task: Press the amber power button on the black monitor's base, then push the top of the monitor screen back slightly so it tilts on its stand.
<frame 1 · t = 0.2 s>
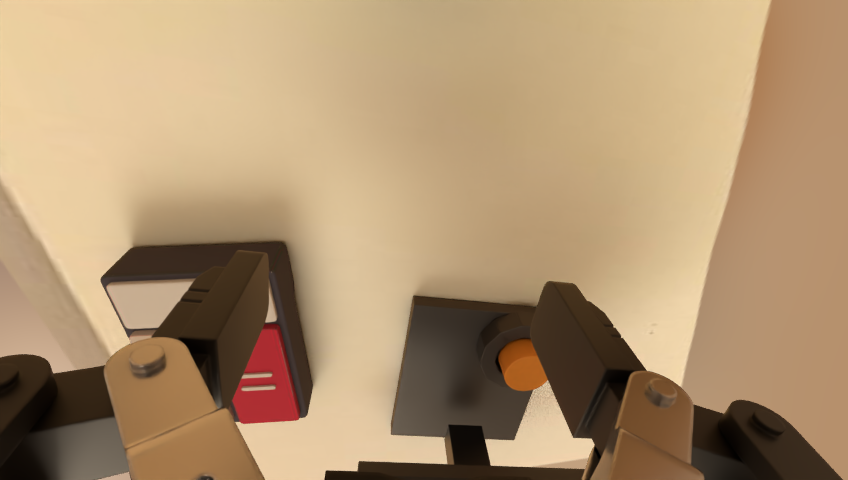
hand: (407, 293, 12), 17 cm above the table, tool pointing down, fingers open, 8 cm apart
calculator: (232, 325, 33), on the table
monitor base: (467, 370, 37), on the table
monitor stand: (461, 394, 39), resting on monitor base
power button: (524, 364, 32), point 4 cm above the table, slide at 0.1 cm
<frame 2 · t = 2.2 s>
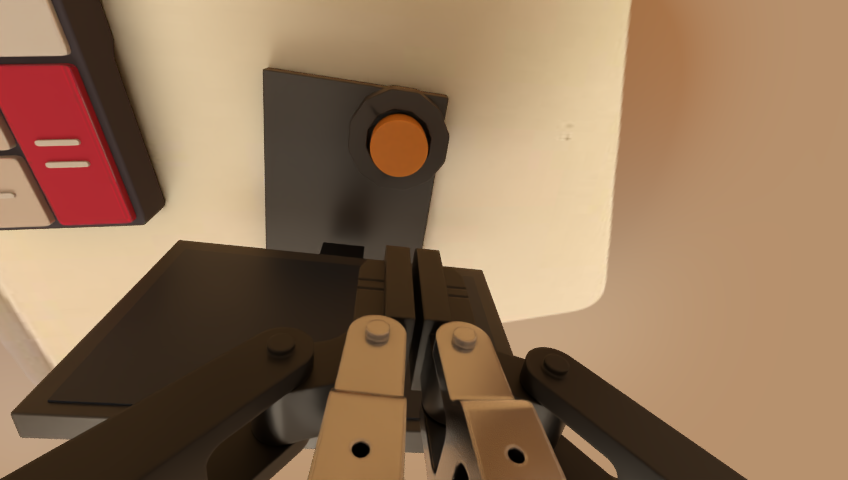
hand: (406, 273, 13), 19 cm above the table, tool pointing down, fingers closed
calculator: (50, 105, 28), on the table
monitor base: (351, 185, 31), on the table
monitor stand: (348, 221, 33), resting on monitor base
monitor screen: (322, 332, 20), point 14 cm above the table, hinge at 0.0°
power button: (398, 145, 27), point 4 cm above the table, slide at 0.1 cm
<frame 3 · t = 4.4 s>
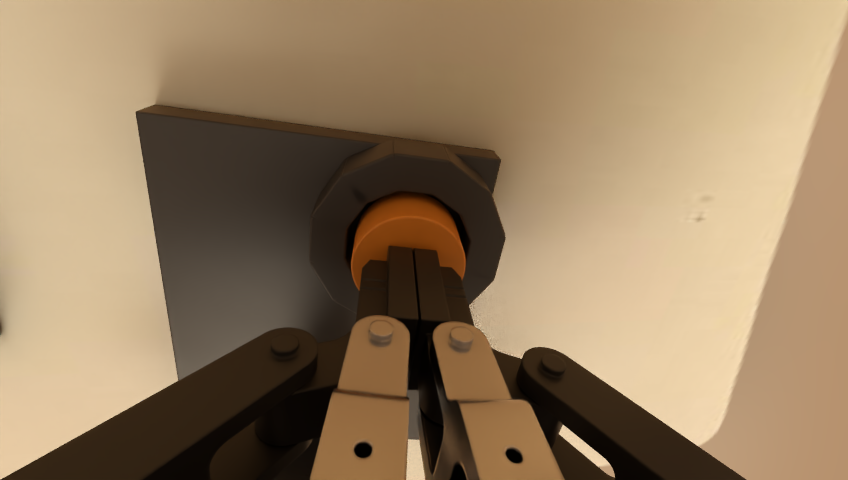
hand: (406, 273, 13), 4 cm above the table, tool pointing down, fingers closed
monitor base: (324, 298, 18), on the table
monitor stand: (321, 350, 20), resting on monitor base
power button: (407, 252, 14), point 3 cm above the table, slide at -0.4 cm, touching gripper
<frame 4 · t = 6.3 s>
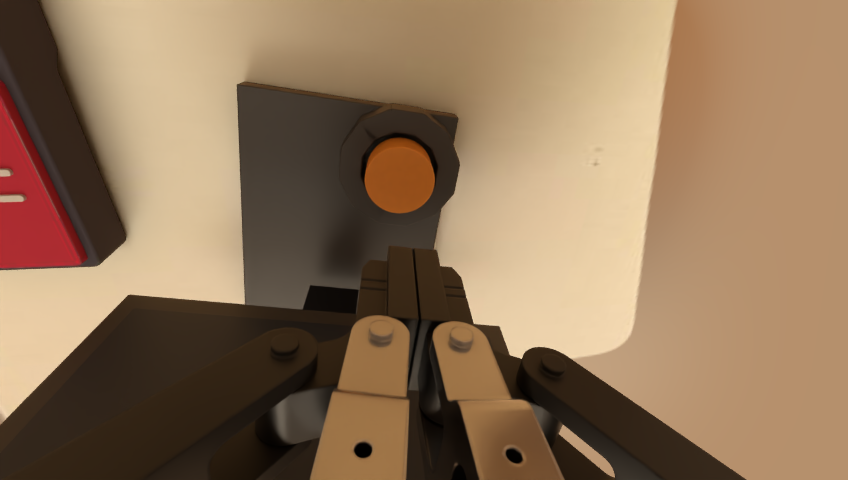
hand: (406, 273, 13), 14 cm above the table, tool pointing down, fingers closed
monitor base: (343, 217, 27), on the table
monitor stand: (340, 257, 28), resting on monitor base
monitor screen: (300, 426, 16), point 14 cm above the table, hinge at 0.0°
power button: (399, 175, 22), point 4 cm above the table, slide at 0.1 cm
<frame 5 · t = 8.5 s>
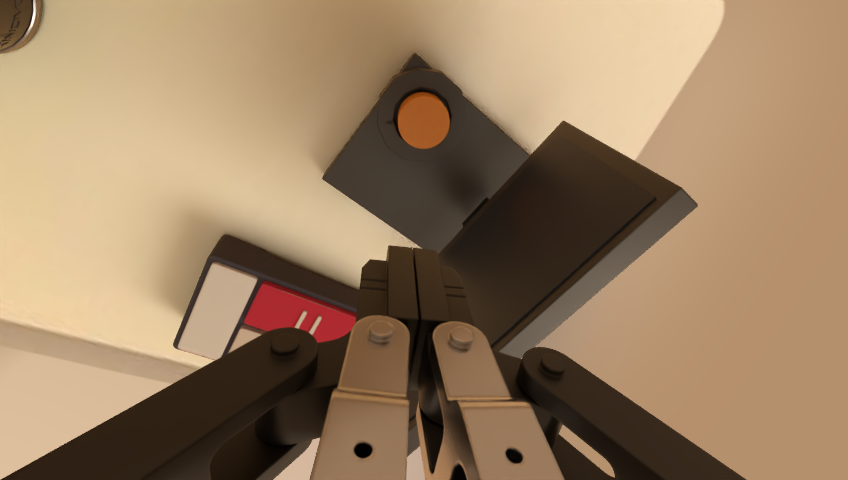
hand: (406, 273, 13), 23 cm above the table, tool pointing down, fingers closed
calculator: (283, 308, 41), on the table
monitor base: (438, 173, 35), on the table
monitor screen: (494, 276, 24), point 14 cm above the table, hinge at 0.0°
power button: (423, 120, 30), point 4 cm above the table, slide at 0.1 cm
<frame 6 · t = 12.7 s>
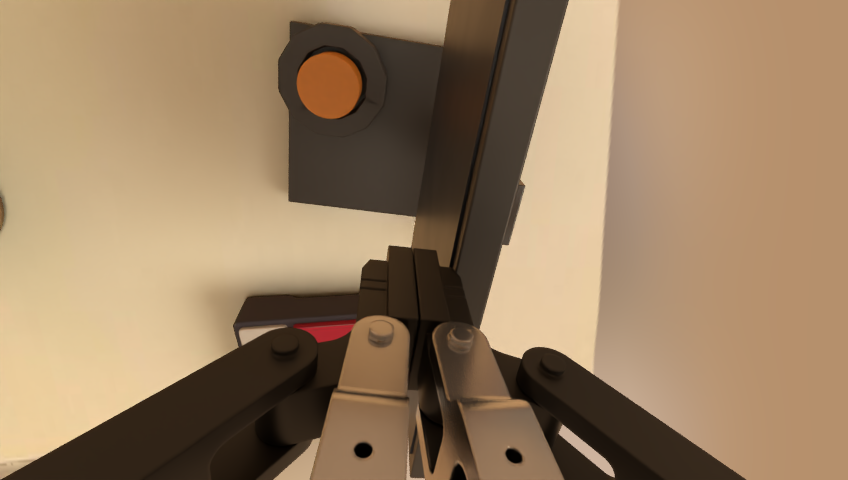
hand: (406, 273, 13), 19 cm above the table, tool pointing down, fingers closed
calculator: (340, 340, 39), on the table
monitor base: (399, 131, 30), on the table
monitor stand: (439, 137, 30), resting on monitor base
monitor screen: (453, 214, 18), point 14 cm above the table, hinge at 1.0°, touching gripper
power button: (330, 85, 25), point 4 cm above the table, slide at 0.1 cm
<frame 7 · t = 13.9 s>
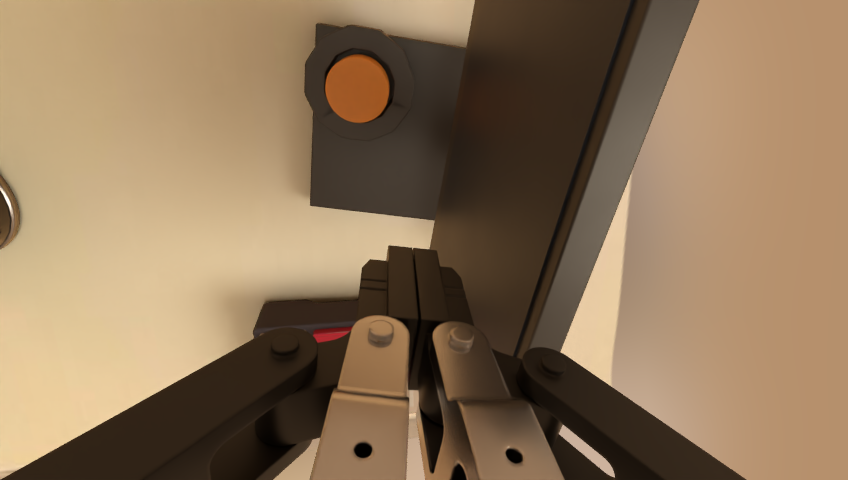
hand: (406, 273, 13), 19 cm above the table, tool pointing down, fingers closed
calculator: (357, 344, 38), on the table
monitor base: (422, 134, 30), on the table
monitor screen: (497, 223, 18), point 14 cm above the table, hinge at 8.3°
power button: (358, 88, 25), point 4 cm above the table, slide at 0.1 cm
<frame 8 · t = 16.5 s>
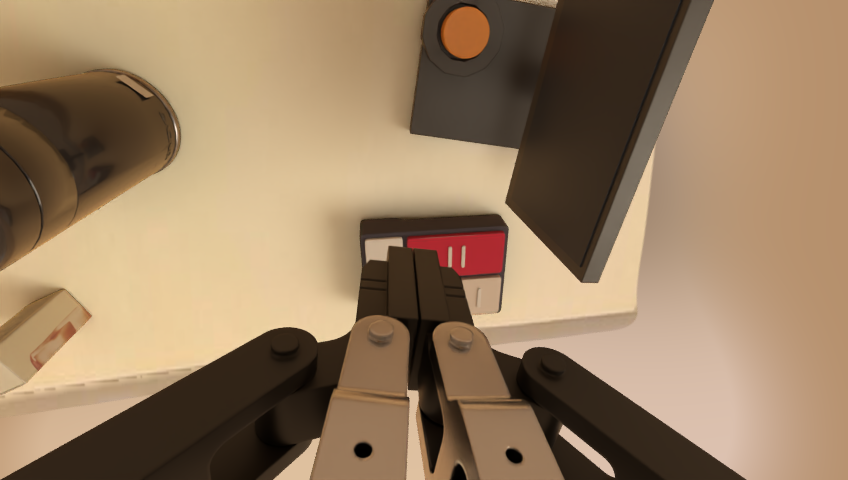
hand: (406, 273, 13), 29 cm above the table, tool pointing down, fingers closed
calculator: (431, 260, 47), on the table
cream printed box: (63, 309, 46), on the table
monitor base: (499, 76, 38), on the table
monitor screen: (588, 108, 26), point 14 cm above the table, hinge at 8.3°
power button: (464, 33, 33), point 4 cm above the table, slide at 0.1 cm
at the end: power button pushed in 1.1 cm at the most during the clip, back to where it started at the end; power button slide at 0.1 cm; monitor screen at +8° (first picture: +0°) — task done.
